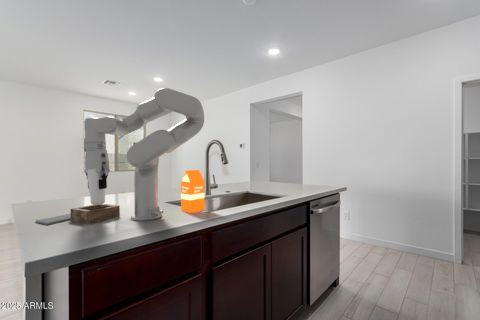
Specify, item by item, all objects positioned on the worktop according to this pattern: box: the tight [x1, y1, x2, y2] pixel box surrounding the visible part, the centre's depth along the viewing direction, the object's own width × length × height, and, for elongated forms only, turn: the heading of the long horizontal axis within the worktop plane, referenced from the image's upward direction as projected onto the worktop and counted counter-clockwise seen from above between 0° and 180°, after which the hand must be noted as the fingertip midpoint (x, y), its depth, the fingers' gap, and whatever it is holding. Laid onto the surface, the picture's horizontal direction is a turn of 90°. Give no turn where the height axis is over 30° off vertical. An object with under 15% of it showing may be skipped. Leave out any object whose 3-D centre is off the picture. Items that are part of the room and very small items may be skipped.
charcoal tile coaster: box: [35, 213, 71, 226], centre depth 99 cm, size 9×14×1 cm, turn 154°
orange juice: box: [180, 169, 205, 214], centre depth 115 cm, size 8×9×20 cm
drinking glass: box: [86, 169, 106, 205], centre depth 100 cm, size 7×7×15 cm
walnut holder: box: [70, 203, 121, 225], centre depth 100 cm, size 13×13×5 cm
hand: (97, 188), depth 100 cm, fingers closed on drinking glass, 6 cm apart
